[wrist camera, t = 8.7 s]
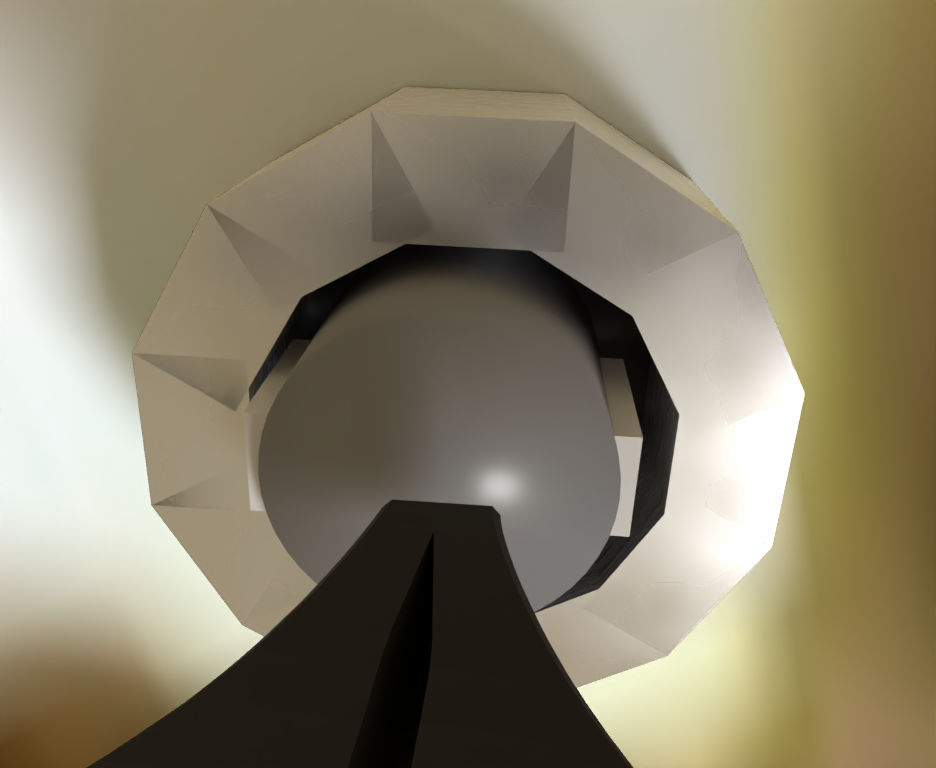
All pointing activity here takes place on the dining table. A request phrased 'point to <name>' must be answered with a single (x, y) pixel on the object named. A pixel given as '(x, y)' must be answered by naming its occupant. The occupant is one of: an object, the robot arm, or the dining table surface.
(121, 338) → the dining table surface
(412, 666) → the robot arm
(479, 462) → the cap
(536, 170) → the faceted ring
